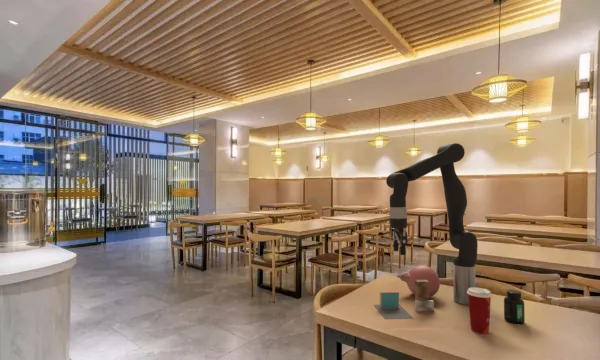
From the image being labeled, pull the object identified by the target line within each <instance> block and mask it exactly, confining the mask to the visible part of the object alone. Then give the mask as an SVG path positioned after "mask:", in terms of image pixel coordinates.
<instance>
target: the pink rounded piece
mask: <svg viewBox="0 0 600 360" xmlns="http://www.w3.org/2000/svg"><path fill="white" fill-rule="evenodd" d="M396 278H399V279H400V280H401V282H405V284H406V285H407V287H408V289H409V292H410V293H412V294H413V295H414V296H415V280H427V281H429V298H432V297H434V296H435V295H436V294H437V293H438V292H439V290H440V288H441V287H440V286H441V282H440V281H441V280H440V277H439V275H438V273H437V272H436V271H435V270H434V269H433V268H431V267H430V266H428V265H421V264H419V265H415V266H413V267H412V268H411V269H409V270H408V271H406V272H404V273H402V274H397V275H396Z"/></svg>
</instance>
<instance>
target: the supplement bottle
mask: <svg viewBox="0 0 600 360" xmlns="http://www.w3.org/2000/svg"><path fill="white" fill-rule="evenodd" d="M525 316H526V315H525V301H524V300H523V298H522V292H521V291H520V290H519V291H518V290H514V289H507V290H506V295H505V297H504V298H503V319H504V321H505V322H507V323H509V324H510V325H511V324H512V325H517V326H521V325H522V326H523V325H524V324H525V322H526V321H525Z"/></svg>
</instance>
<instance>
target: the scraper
mask: <svg viewBox="0 0 600 360" xmlns="http://www.w3.org/2000/svg"><path fill="white" fill-rule="evenodd" d="M414 311H415V312H434V311H435V301H434V300H433V299H430V297H429V281H427V280H415V295H414Z"/></svg>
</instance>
